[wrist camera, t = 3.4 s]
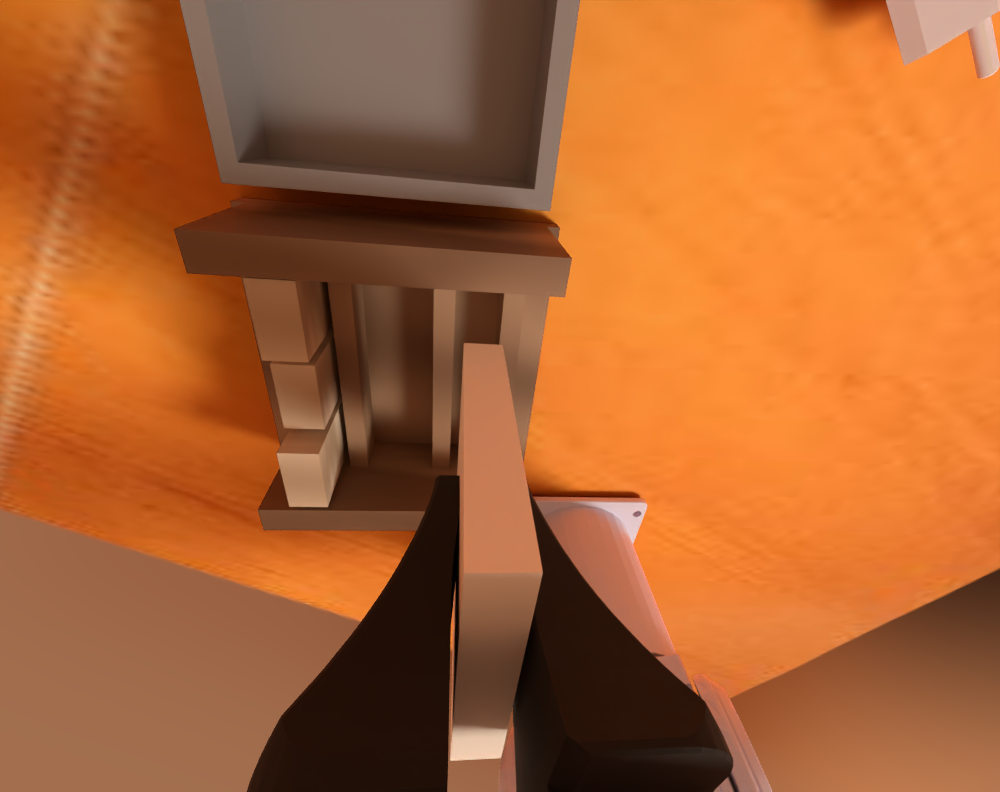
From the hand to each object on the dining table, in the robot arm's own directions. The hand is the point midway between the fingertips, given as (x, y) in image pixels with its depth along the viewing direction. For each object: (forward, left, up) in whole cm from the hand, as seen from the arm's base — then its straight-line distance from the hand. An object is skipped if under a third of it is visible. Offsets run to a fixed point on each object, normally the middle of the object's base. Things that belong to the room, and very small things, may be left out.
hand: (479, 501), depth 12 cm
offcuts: (0, +7, -9) cm, 11 cm away
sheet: (0, 0, -3) cm, 3 cm away
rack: (0, +3, -9) cm, 10 cm away
